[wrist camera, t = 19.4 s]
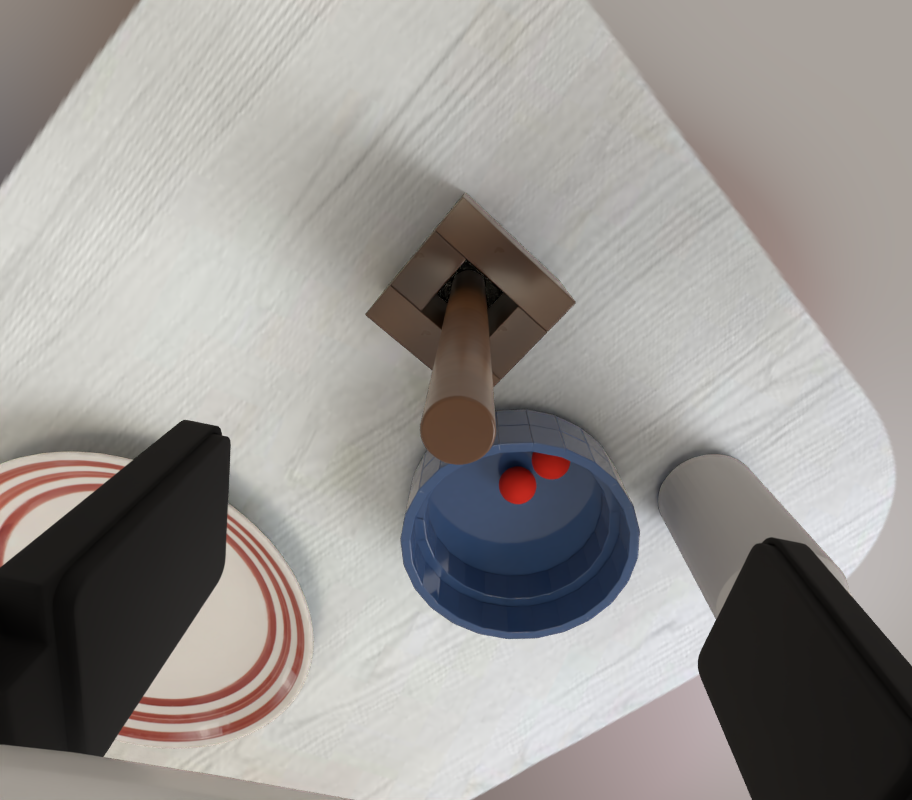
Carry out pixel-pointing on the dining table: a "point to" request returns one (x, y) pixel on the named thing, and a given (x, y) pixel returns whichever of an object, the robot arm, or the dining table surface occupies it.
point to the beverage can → (725, 522)
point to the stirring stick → (461, 379)
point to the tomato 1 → (517, 485)
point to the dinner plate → (212, 631)
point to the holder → (501, 260)
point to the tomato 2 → (549, 465)
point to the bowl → (521, 533)
